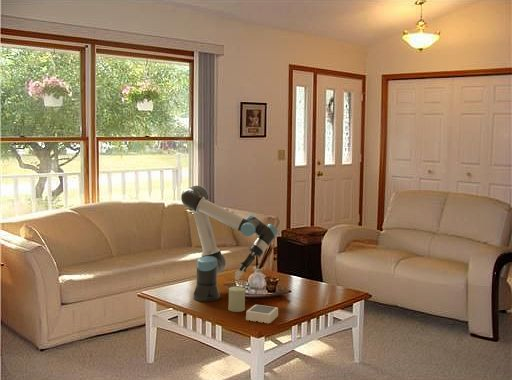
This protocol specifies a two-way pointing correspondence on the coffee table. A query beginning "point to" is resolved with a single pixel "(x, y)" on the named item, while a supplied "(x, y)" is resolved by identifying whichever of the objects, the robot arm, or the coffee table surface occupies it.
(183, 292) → the coffee table surface
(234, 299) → the can
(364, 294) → the coffee table surface
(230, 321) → the coffee table surface
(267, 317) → the stand
